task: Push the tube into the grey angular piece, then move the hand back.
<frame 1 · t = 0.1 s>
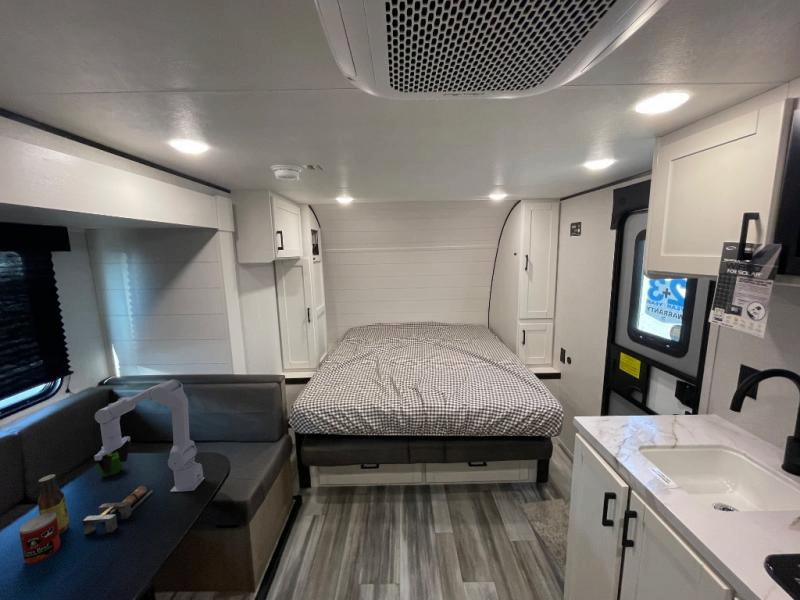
hand: (115, 466, 130), 10 cm above the table, fingers open, 7 cm apart
canned food: (43, 554, 101), on the table
sauce bottle: (56, 532, 110), on the table
bell pepper: (112, 473, 143), on the table
tube: (132, 502, 123), on the table
grey angular piece: (108, 524, 113), on the table
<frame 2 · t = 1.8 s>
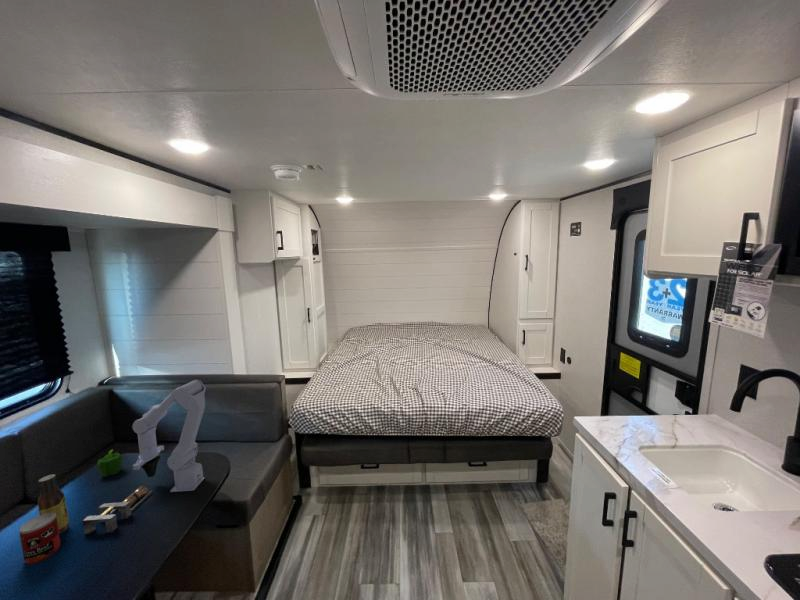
hand: (151, 475, 133), 4 cm above the table, fingers closed
tube: (132, 502, 123), on the table, tilted 13°
everything else where it was.
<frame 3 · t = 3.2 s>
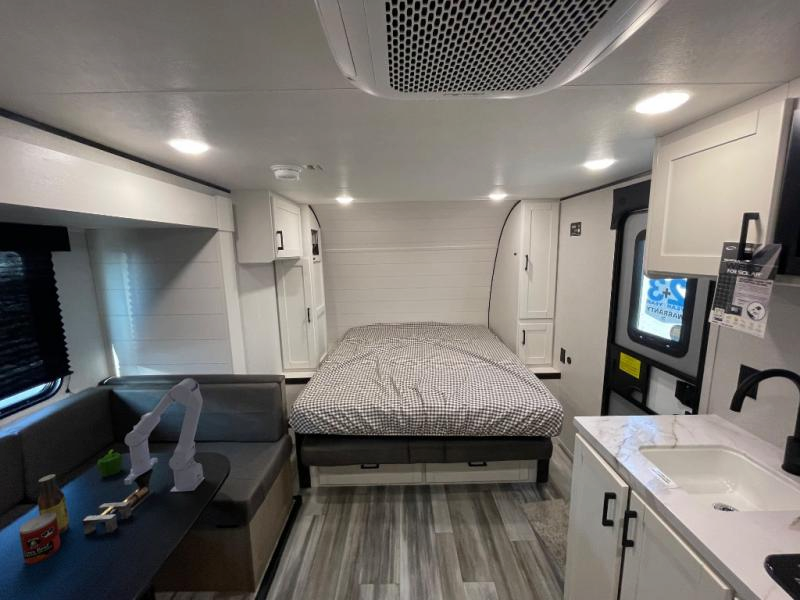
hand: (144, 489, 129), 1 cm above the table, fingers closed
tube: (132, 502, 123), on the table, tilted 19°, touching gripper
everything else where it was.
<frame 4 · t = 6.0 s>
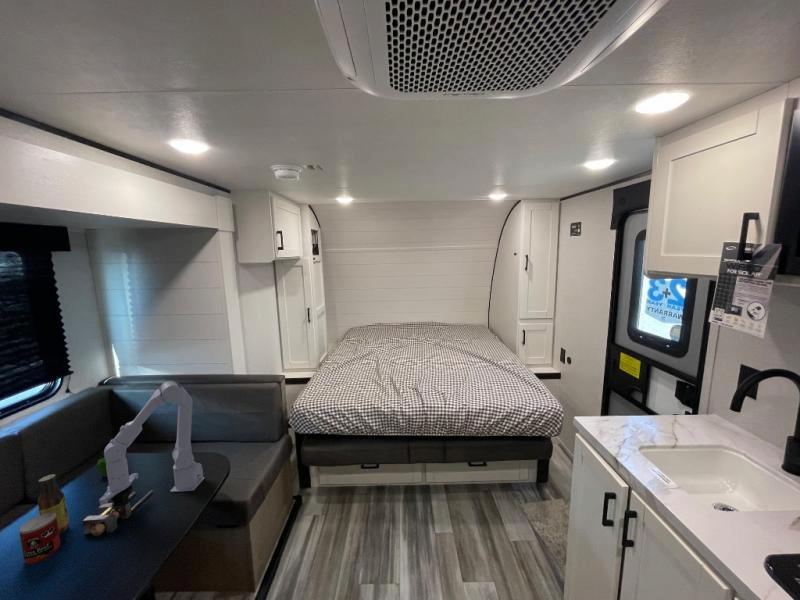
hand: (122, 508, 118), 1 cm above the table, fingers closed
tube: (108, 524, 112), on the table, tilted 19°, touching gripper
everything else where it was.
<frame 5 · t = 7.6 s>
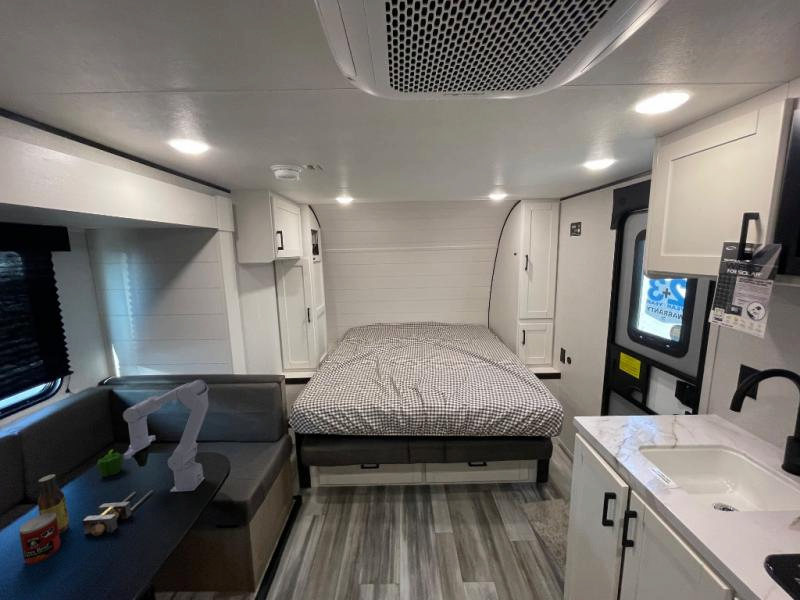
hand: (142, 465, 131), 9 cm above the table, fingers closed
tube: (108, 524, 112), on the table, tilted 16°
everything else where it was.
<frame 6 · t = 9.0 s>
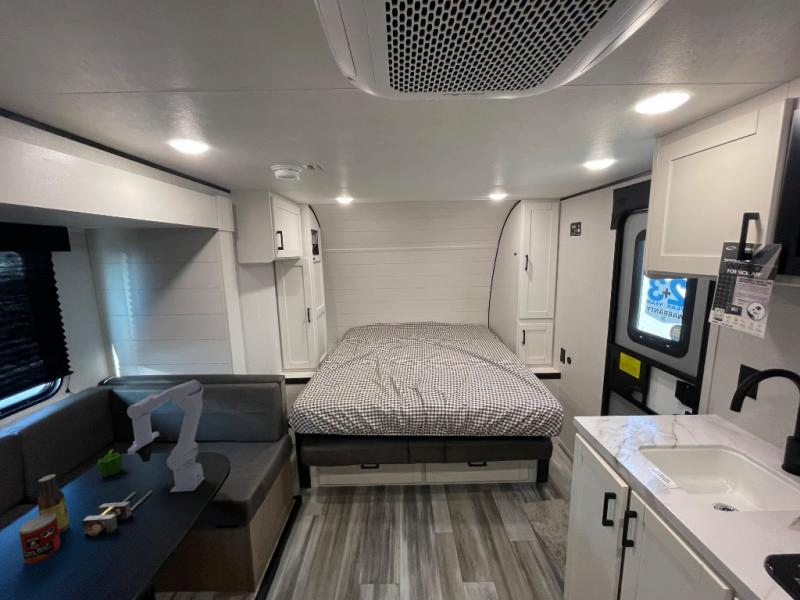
hand: (146, 461, 135), 9 cm above the table, fingers closed
at the end: tube 0.2 cm off-centre on the grey angular piece, point 0.2 cm above the grey angular piece's base; tube moved 10.7 cm from its start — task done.
